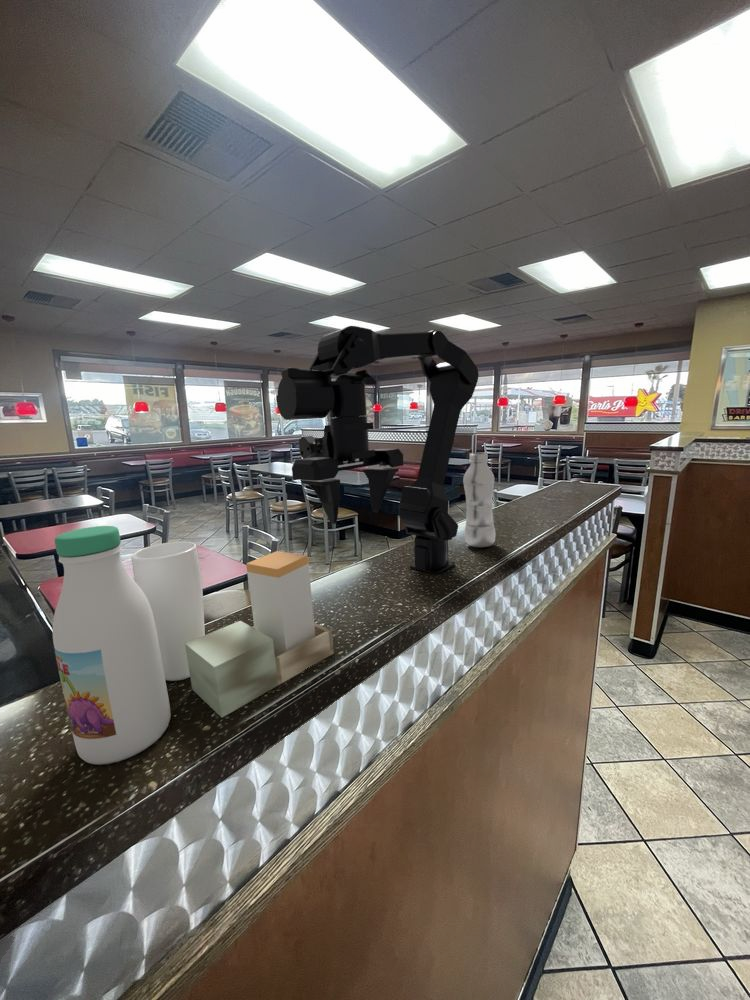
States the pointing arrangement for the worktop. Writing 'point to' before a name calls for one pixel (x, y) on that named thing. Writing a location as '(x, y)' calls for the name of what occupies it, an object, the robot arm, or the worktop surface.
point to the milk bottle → (107, 650)
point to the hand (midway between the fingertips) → (355, 517)
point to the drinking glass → (172, 599)
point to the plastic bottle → (479, 502)
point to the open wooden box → (247, 664)
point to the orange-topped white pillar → (282, 599)
